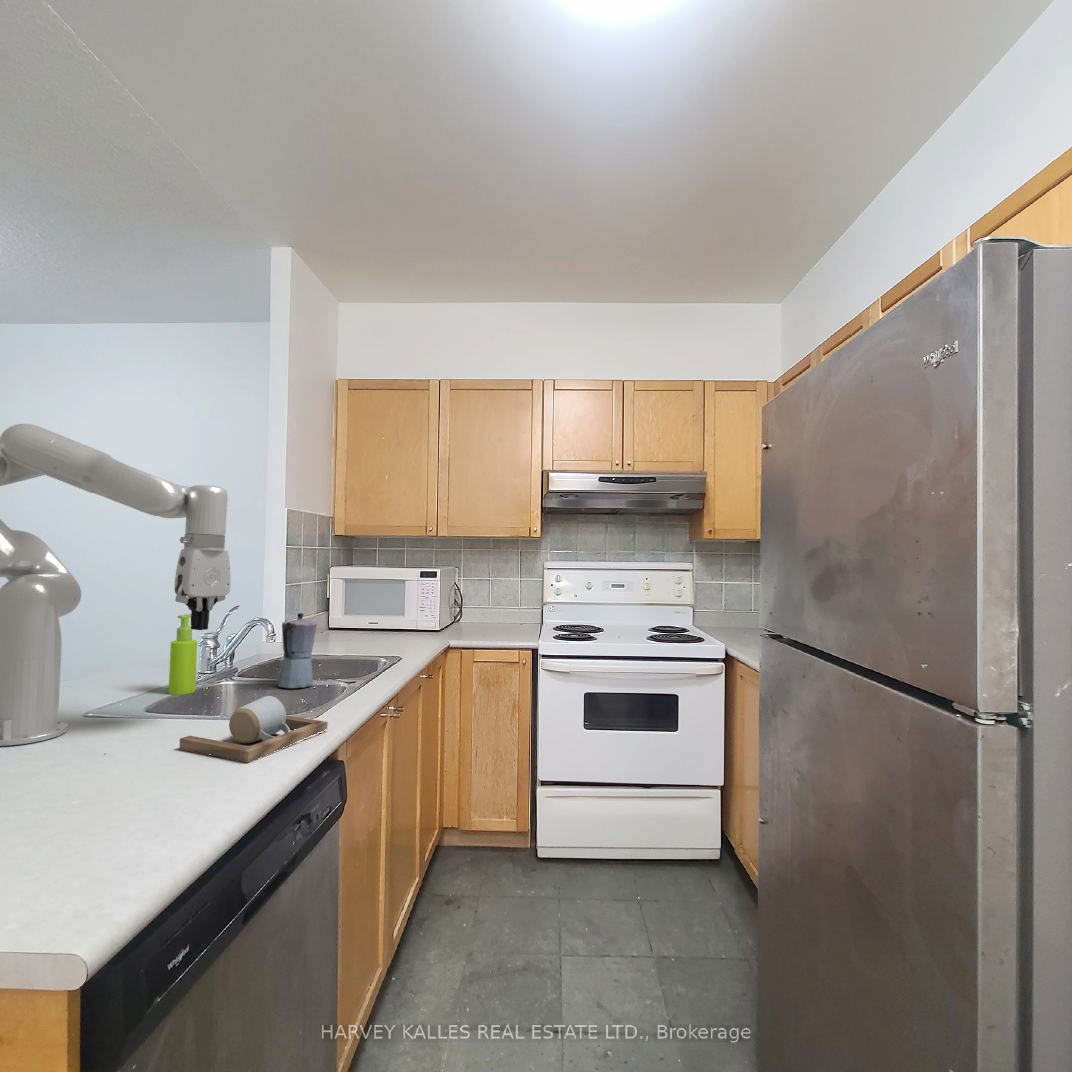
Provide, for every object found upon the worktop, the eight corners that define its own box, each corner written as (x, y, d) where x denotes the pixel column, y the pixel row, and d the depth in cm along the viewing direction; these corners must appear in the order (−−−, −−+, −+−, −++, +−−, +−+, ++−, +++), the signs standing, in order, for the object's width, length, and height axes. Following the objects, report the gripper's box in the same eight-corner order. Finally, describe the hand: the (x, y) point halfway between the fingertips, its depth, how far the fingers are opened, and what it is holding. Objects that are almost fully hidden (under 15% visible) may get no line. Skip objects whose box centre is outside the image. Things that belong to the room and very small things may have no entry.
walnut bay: (248, 763, 102) (248, 751, 102) (179, 749, 108) (179, 738, 108) (327, 731, 120) (327, 721, 120) (264, 721, 126) (265, 712, 126)
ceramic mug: (224, 743, 112) (226, 703, 112) (254, 731, 120) (256, 693, 120) (272, 750, 109) (274, 709, 109) (299, 736, 117) (301, 698, 117)
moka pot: (322, 680, 167) (325, 611, 168) (303, 693, 151) (305, 617, 152) (289, 680, 167) (291, 610, 167) (266, 693, 151) (268, 616, 152)
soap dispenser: (203, 690, 152) (206, 614, 153) (176, 696, 146) (179, 616, 147) (191, 687, 155) (194, 612, 156) (163, 692, 149) (167, 615, 150)
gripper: (183, 542, 116) (177, 634, 115) (247, 545, 129) (242, 627, 129) (158, 541, 118) (152, 631, 118) (223, 544, 132) (218, 624, 132)
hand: (199, 629), depth 123 cm, fingers closed
